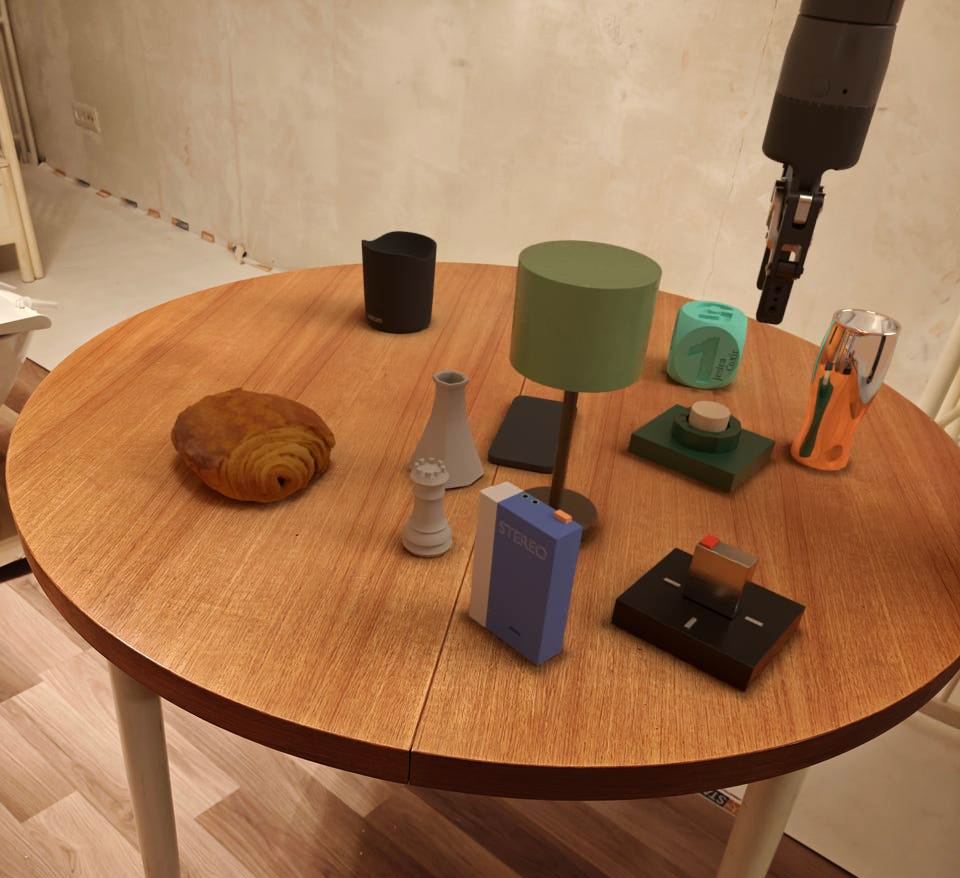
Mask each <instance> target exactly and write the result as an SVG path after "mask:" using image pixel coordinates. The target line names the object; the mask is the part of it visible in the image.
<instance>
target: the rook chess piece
mask: <svg viewBox="0 0 960 878" xmlns="http://www.w3.org/2000/svg"><path fill="white" fill-rule="evenodd" d="M409 476H410V478H411V481H413V483H414V484H415V485H414V486H413V488H412V494H413V495H414V499H413V500H414V501H413V507H412V512H411V515H409V516H408V520H407V521H406V522H405V524H404V526H403V530H402V534H403V535H402V538H401V542H402V544H403V546H404V548H405V549H406V550H407V551H408V552H409V553H411V554H412V555H414V556H417V557H421V558H422V557H423V558H436V557H439V556H441V555H443V554H445V552H447V551H448V550H449V549H450V548H451V547H452V543H453V539H452V535H453V531H452V527H451V526H450V523H448V519H447V517H446V516H445V509H444V497H445V496H446V489H444V487H443V485H444V484H445V482H446V481H447V480H448V478H449V475H448V473H447V471H446V470H445V465H444V462H442V461H441V460H439V461H438V464H436V463H435V458H429V463H425V459H424V458H422V459H419V463H417V462H416V463H415V468H414V469H413V470H412V471H410V474H409Z"/></svg>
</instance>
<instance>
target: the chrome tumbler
mask: <svg viewBox="0 0 960 878" xmlns="http://www.w3.org/2000/svg"><path fill="white" fill-rule="evenodd" d="M830 319H831V320H830V322H829V325H828V326H827V329H826V331H825V334H824V336H823V339H822V341H821V343H820V346H819V349H818V352H817V353H816V358H815V362H814V365H813V369H812V374H811V378H810V384H809V385H810V386H809V391H808V392H809V393H808V400H807V405H806V411H805V416H804V420H803V423H802V425H801V428H800V430H799V431H798V434H797V436H796V437H795V439H794V440H793V442H792V445H791V447H790V449H789V451H790V454H791V456H792V458H793V459H794V460H795V461H796V462H798V463H800V464H801V465H803V466H806V467H808V468H810V469H811V468H812V469H814V470H819V471H826V472H829V471H830V472H833V471H840V470H842V469H844V468H845V467H846V466H847V464H848V462H849V456H850V452H851V451H850V450H851V445H852V440H853V437H854V435H855V433H856V430H857V428H858V426H859V424H860V423H861V421H862V419H863V417H864V416H865V414H867V413H866V412H867V411H868V409H869V408H870V406H871V405H872V402H873V401H874V400H875V398H876V396H877V394H878V392H879V390H880V389H881V387H882V385H883V383H884V380H885V378H886V376H887V373H888V371H889V369H890V366H891V363H892V361H893V357H894V353H895V350H896V347H897V344H898V340H899V337H900V333H901V331H902V325H901V324H900V322H898V320H896V319H894V318H893V317H890V316H888V315H886V314H883V313H880V312H876V311H873V310H869V309H861V308H843V309H838V310H836V311H834V312H833V313H832V317H831V318H830Z"/></svg>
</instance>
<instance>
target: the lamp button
mask: <svg viewBox="0 0 960 878" xmlns="http://www.w3.org/2000/svg"><path fill="white" fill-rule="evenodd" d="M690 407H691V411H690V416H689V420H688V423H689V424H690V425H691V426H693V427H695V428H697V429H700V430H703V431H709V432H722V431H725V430H726V428H727V424H728V421H729V417H730V414H731V410H730V409H729V408H728V406H726V405H724V404H722V403H719V402H716V401H711V400H700V401H696V402H694V403H693V404H691V406H690Z"/></svg>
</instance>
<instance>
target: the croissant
mask: <svg viewBox="0 0 960 878" xmlns="http://www.w3.org/2000/svg"><path fill="white" fill-rule="evenodd" d="M170 440H171V443H172V445H173V448H174V450H175V452H177V454H178V455H179V457H180V458H181V459H182V460H183V462H184V463H185V465H186V466H187V467H189V468H190V469H191V470H192V471H193V472H194V473H195V474H196V476H197V477H199V479H200V480H202V481H203V482H204V484H206V486H208V487H209V488H211V489H212V490H213V491H217V493H220V494H222V495H223V496H224V497H227V498H229V499H234V500H238V501H242V502H245V501H247V502H251V501H253V502H257V503H263V504H268V503H271V502H279V501H281V500H283V499H285V498H286V497H288V496H291V495H293V494H294V493H295V492H296V491H298V490H303V489H305V488H307V486H308V484H309V481H310V480H311V481H312V480H315V479H317V478H319V477H320V475H321V474H323V473H324V472H325V471H326V469H327V467H328V466H329V462H331V461H332V459H331V458H330V457H331V452H332V449H334V447H336V445H337V442H336V440H335V435H334V433H333V431H332V430H331V428H330V427H329V426H328V424H327V423H326V422H325V420H323V418H322V417H321V416H320V415H319V413H317V412H316V410H314V409H312V408H310V407H308V406H306V405H305V404H302V403H300V402H298V401H296V400H294V399H291V398H287V397H283V396H280V395H279V394H278V393H277V394H276V393H267V392H255V391H250V390H244V389H243V388H242V387H236V388H231V389H229V390H225V391H220V392H217V393H213V394H209V395H205V396H204V397H203V398H201V399H200V400H199V401H197V402H195V403H193V404H190V405H189V404H188V405H187V406H186V407H185V408H184V410H182V411H180V412H179V413H178V415H177V416H176V418H175V421H174V425H173V427H172V428H171V432H170Z"/></svg>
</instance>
